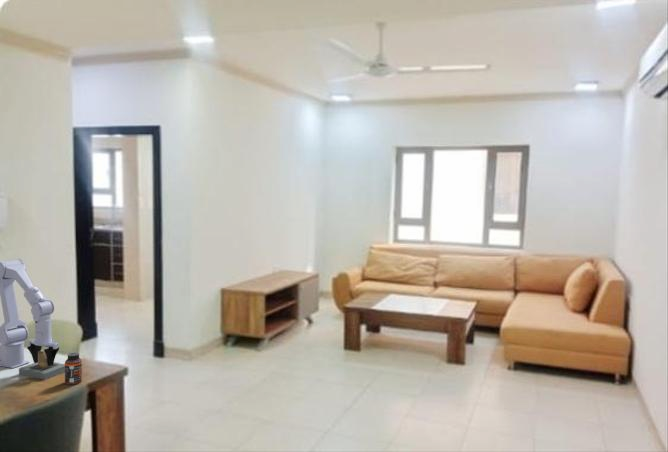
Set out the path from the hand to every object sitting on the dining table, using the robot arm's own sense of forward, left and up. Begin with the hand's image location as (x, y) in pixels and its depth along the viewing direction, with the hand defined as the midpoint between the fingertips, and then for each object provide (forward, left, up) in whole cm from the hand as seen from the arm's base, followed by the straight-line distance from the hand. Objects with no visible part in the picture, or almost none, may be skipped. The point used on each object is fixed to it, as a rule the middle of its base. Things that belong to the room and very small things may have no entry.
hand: (43, 363), depth 216 cm
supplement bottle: (+19, -3, -4) cm, 20 cm away
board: (0, 0, -4) cm, 4 cm away
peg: (0, 0, -3) cm, 3 cm away
